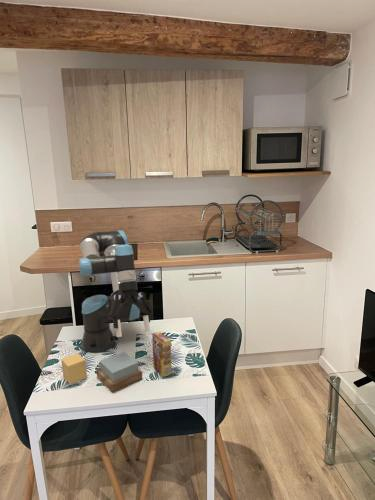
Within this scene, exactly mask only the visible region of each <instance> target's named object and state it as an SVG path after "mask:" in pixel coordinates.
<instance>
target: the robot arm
mask: <svg viewBox="0 0 375 500" xmlns="http://www.w3.org/2000/svg"><path fill="white" fill-rule="evenodd" d="M79 251H80V253H81V254H82V258H79V260H78V265H79V273H80V275H81V276H95V275H102V274H110V278H111V283H112V285H111V286H112V291H113V292H112V293H111V294H110V297H108V296H107V295H105V294H96V295H92V296H90V297H87V298H86V299H85V300H83V302H82V303H81V314H82V321H83V336H82V339H81V349H82V350H83V351H85V352H87V353H101V352H105V351H107V350H110V349H111V348H113V347H114V345H115V342H116V341H115V336H114V334H113V331H112V330H111V328H110V324H113V329H115V335H116V338H120V337H122V336H123V335H122V334H123V333H122V325H121V322H127V321H133V320H138V318H139V317H140V312H141V313H142V314H143V316H142V318H143V328H144V332H145V333H147V332H151V329H150V328H151V327H150V326H151V325H150V323H151V314H153V313H154V311H153V308H152V306H151V305H150V302H149V301H148V300H147V298H146V294H145V292H144V291H141V292H138V282H137V281H136V280H137V276H136V267H135V258H134V250H133V246H132V245H131V244H129V242H128V238H127V234H126V232H125V231H124V230H121V229H120V230H116V229H115V230H109V231H108V230H107V231H106V230H105V231H95V232H91V233H89V234H87V235H86V236H84V237H83V238H82V239H81V241H80V243H79ZM100 254H104V255H102V256H100Z"/></svg>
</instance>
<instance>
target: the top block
mask: <svg viewBox="0 0 375 500" xmlns="http://www.w3.org/2000/svg"><path fill="white" fill-rule="evenodd" d="M99 369H100V370H101V371H102V372H103V373H104V374H105V375H106V376H107V377H108V378H109V379H110V380H111V381H112V382H116V381H118V380H120V379H123V378H125V377H127V376H129V375H132V374H134V373H136V372H139V371H138V369H139V362H138V361H137V360H136V359H134V358H133V357H132V356H131V355H129V354H128V353H127V352H126V351H122V352H119V353H116V354H114V355H112V356H109V357H106V358H104V359H101V360H99Z"/></svg>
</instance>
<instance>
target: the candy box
mask: <svg viewBox="0 0 375 500" xmlns="http://www.w3.org/2000/svg"><path fill="white" fill-rule="evenodd" d="M151 335H152V338H151V339H152V342H151V343H152V364H153V369H154V370H155V371H156V372H157V373H158V374H159V375H160V376H161V377H162V378H166V377H168V376H171V375H172V346H171V345H172V341H171V339H170V338H169V337H167V336H166V335H165V334H164V333H162V332H161V331H159V332H155V333H152V334H151Z"/></svg>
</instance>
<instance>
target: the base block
mask: <svg viewBox="0 0 375 500" xmlns="http://www.w3.org/2000/svg"><path fill="white" fill-rule="evenodd" d="M138 371H139V372H136V373H134V374H132V375H129V376H127V377H125V378H123V379H120V380H118V381H116V382H112V381H111V380H110V379H109V378H108V377H107V376H106V375H105V374H104V373H103V372H102V371H101V370H100V368H99V369H96V378H97V379H98V380H99V381H100V382H101V384H103V386H105V387H106V388H107V389H108V390H109V391H110V392H111V393H112V394H114V393H117V392H118V391H121V390H123V389H125V388H128V387H129V386H131V385H133V384H136V383H139V382H140V381H142V380H143V371H142V370H140V369H139V368H138Z"/></svg>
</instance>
